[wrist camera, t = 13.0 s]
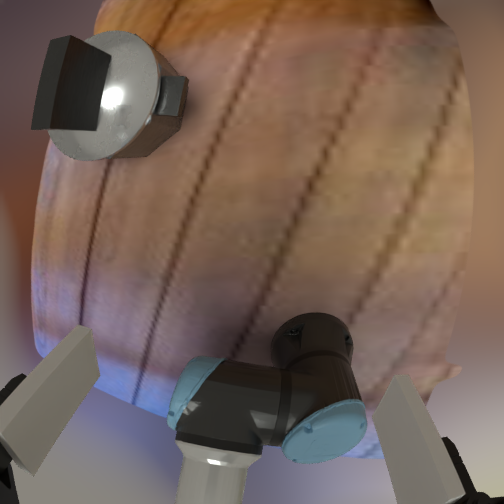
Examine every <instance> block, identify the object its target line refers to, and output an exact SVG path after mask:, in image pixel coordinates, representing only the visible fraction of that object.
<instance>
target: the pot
mask: <svg viewBox="0 0 504 504" xmlns="http://www.w3.org/2000/svg"><path fill="white" fill-rule="evenodd" d="M134 35H136V34H134ZM136 36H138V35H136ZM138 37H139V36H138ZM139 38H140V37H139ZM142 40H143V39H142ZM143 41H144V40H143ZM147 44H148V43H147ZM148 45H149V44H148ZM149 46H150V45H149ZM150 47H151V46H150ZM151 49H152V50H153V52H154V53H155V55H156V57H157V60H158V63H159V67H160V74H161V85H160V92H159V97H158V101H157V104H156V107H155V109H154V112H153V114H152V116H151V118H150V120H149V122H148V123H147V125H146V126H145V128H144V129H143V130H142V132H141V133H140V134H139V135H138V137H137V138H136V139H135V140H134V141H133V142H132V143H131V144H129V145H128V146H127V147H126V148H125V149H123V150H121V151H120V152H118V153H117V154H115V155H112V156H110V157H107V158H108V159H114V158H130V157H147V156H148V155H150V154H151V153H152V152H153V151H154V150H155V149H157V148H158V147H159V146H160V145H161V144H163V143H164V142H165V141H166V140H167V139H169V138H170V137H171V136H172V135H174V134H175V133H176V132H177V131H179V130H180V128H181V123H182V117H183V112H184V107H185V101H186V97H187V92H188V82H189V79H188V78H187V77H184V76H179V75H178V73H177V72H176V71H175V70H174V68H173V67H172V66H171V65H170V63H169V62H168V61H167V60H166V58H164V57H163V56H162V55H161V54H160V53H158V52H157V51H156V50H155V49H154V48H152V47H151Z"/></svg>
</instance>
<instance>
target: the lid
mask: <svg viewBox="0 0 504 504" xmlns="http://www.w3.org/2000/svg"><path fill="white" fill-rule="evenodd" d="M160 85H161V74H160V67H159V63H158V60H157V57H156V55H155V53H154V52H153V50H152V49H151V47H150V46H149V45H148V44H147V43H146V42H145V41H143V40H142V39H141V38H139V37H138V36H136V35H134V34H132V33H129V32H125V31H107V32H103V33H100V34H97V35H94V36H92V37H90V38H88V39H86V40H85V41H82V40H80V39H78V38H76V37H74V36H71V35H70V36H65V37H61V38H57V39H53V40H51V41H50V44H49V47H48V51H47V54H46V58H45V61H44V65H43V69H42V73H41V77H40V81H39V86H38V91H37V96H36V101H35V106H34V113H33V119H32V126H31V130H48V132H49V135H50V137H51V139H52V141H53V143H54V144H55V146H56V147H57V148H58V149H59V150H60V151H61V152H62V153H64V154H65V155H67V156H69V157H70V158H73V159H76V160H82V161H93V160H100V159H104V158H107V157H110V156H112V155H115V154H117V153H118V152H120V151H121V150H123V149H125V148H126V147H127V146H128V145H129V144H131V143H132V142H133V141H134V140H135V139H136V138H137V137H138V135H139V134H140V133H141V132H142V130H143V129H144V128H145V126H146V125H147V123H148V122H149V120H150V118H151V116H152V114H153V112H154V109H155V107H156V104H157V101H158V97H159V92H160Z"/></svg>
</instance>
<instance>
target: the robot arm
mask: <svg viewBox="0 0 504 504" xmlns="http://www.w3.org/2000/svg"><path fill="white" fill-rule="evenodd" d="M352 354H353V341H352V338H351V335H350V332H349V330H348V328H347V327H346V325H345V324H344V323H343V322H342V321H340V320H339V319H338V318H336V317H334V316H331V315H328V314H323V313H309V314H304V315H300V316H297V317H295V318H293V319H291V320H289V321H288V322H286V323H285V324H284V325H283V326H282V327H280V329H279V330H278V331H277V332H276V334H275V336H274V338H273V341H272V345H271V358H272V362H273V365H274V367H269V366H262V365H256V364H249V363H243V362H237V361H232V360H227V358H214V357H207V356H198V357H195V358H193V359H192V360H191V361H190V362H189V363H188V364H187V365H186V367H185V368H184V370H183V372H182V373H181V375H180V377H179V380H178V382H177V384H176V387H175V389H174V392H173V395H172V398H171V401H170V405H169V408H170V409H169V412H168V415H167V424H168V426H169V427H170V428H172V429H173V430H176V431H177V434H176V439H175V443H176V444H177V445H178V447H179V448H180V450H181V451H182V453H183V456H184V458H183V463H182V467H181V473H180V478H179V483H178V489H177V494H176V500H175V504H242V500H243V494H244V488H245V482H246V476H247V470H248V467H249V466H250V465H251V464H252V463H253V462H255V461H256V460H258V459H259V458H261V454H262V449H263V445H270V446H280V447H281V448H282V451H283V453H284V455H285V456H286V458H288V459H289V460H292V461H294V462H297V463H302V464H313V463H320V462H325V461H328V460H331V459H334V458H336V457H339V456H340V455H343V454H345V453H346V452H348V451H350V450H351V449H352V448H354V447H355V446H356V445H357V444H358V443H359V442H360V441H361V439H362V438H363V437H364V435H365V432H366V430H367V419H366V413H365V405H364V403H363V402H362V399H361V396H360V393H359V389H358V386H357V383H356V380H355V377H354V374H353V371H352V368H351V361H352ZM99 377H100V372H99V367H98V362H97V357H96V352H95V346H94V340H93V334H92V329H90V328H87V327H84V326H80V325H77V326H76V327H75V328H74V329H73V330H72V331H71V332H70V333H69V334H68V335H67V336H66V337H65V338H64V339H63V340H62V341H61V342H60V343H59V344H58V345H57V346H56V347H55V348H54V349H53V350H52V351H51V352H50V353H49V354H48V355H47V356H46V357H45V358H44V359H43V360H42V361H41V362H40V363H39V364H38V365H37V366H36V368H35V369H34V370H33V371H32V372H31V373H30V374H29V375H28V376H26V375H24V374H20V375H18V376H16V377H14V378H13V379H11V380H10V381H9V382H8V384H7V385H6V386H5V388H3V389H2V390H1V391H0V504H19V500H18V495H17V491H16V486H15V481H14V476H13V471H12V467H11V464H10V462H11V461H12V459H13V460H14V462H15V463H16V464H17V465H18V467H20V468H21V469H23V470H24V471H26V472H28V473H29V474H30V475H32V476H34V475H35V474H36V472H37V470H38V469H39V467H40V465H41V464H42V462H43V460H44V459H45V457H46V456H47V454H48V452H49V451H50V449H51V448H52V446H53V445H54V443H55V442H56V440H57V438H58V437H59V435H60V434H61V432H62V431H63V429H64V428H65V426H66V424H67V423H68V421H69V420H70V419H71V417H72V416H73V414H74V413H75V411H76V410H77V408H78V407H79V405H80V404H81V402H82V401H83V400H84V398H85V397H86V395H87V393H88V392H89V391H90V389H91V388H92V387H93V385H94V384H95V382H96V381H97V380H98V378H99ZM372 419H373V422H374V425H375V428H376V431H377V434H378V438H379V441H380V444H381V447H382V451H383V454H384V457H385V461H386V464H387V468H388V471H389V474H390V478H391V482H392V485H393V489H394V492H395V496H396V500H397V504H504V497H495V498H490V497H489V496H488V495H487V494H485V493H484V492H477V491H476V489H475V487H474V485H473V483H472V481H471V479H470V476H469V474H468V472H467V469H466V467H465V465H464V464H463V463H462V462H463V461H462V459H461V457H460V456H459V452H458V450H457V448H456V446H455V444H454V443H453V442H452V441H451V440H450V439H449V438H448V437H443V438H441V437H440V435H439V433H438V431H437V429H436V426H435V425H434V422H433V420H432V418H431V416H430V414H429V413H428V411H427V409H426V407H425V405H424V403H423V401H422V399H421V397H420V395H419V393H418V391H417V389H416V388H415V386H414V384H413V382H412V380H411V378H410V377H409V375H394V377H393V379H392V381H391V383H390V385H389V386H388V388H387V390H386V392H385V394H384V396H383V398H382V400H381V401H380V403H379V405H378V407H377V409H376V410H375V412H374V414H373V415H372Z"/></svg>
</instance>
